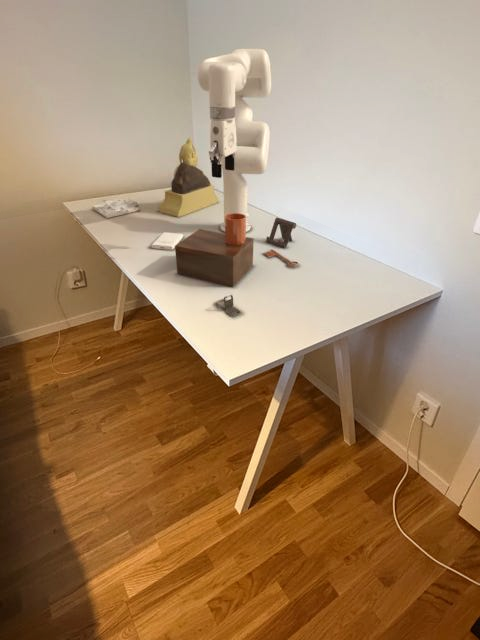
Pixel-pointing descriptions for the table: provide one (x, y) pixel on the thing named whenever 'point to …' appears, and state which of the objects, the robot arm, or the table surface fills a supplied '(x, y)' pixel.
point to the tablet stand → (282, 232)
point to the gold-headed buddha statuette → (188, 186)
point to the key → (273, 253)
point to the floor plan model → (116, 207)
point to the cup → (235, 228)
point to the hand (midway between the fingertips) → (223, 173)
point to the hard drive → (167, 241)
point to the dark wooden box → (213, 258)
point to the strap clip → (228, 306)
